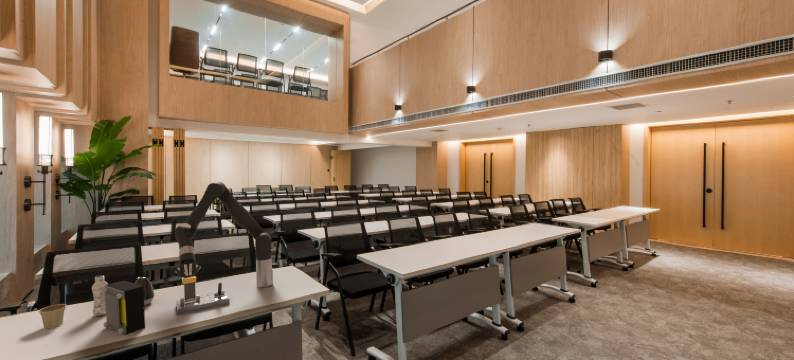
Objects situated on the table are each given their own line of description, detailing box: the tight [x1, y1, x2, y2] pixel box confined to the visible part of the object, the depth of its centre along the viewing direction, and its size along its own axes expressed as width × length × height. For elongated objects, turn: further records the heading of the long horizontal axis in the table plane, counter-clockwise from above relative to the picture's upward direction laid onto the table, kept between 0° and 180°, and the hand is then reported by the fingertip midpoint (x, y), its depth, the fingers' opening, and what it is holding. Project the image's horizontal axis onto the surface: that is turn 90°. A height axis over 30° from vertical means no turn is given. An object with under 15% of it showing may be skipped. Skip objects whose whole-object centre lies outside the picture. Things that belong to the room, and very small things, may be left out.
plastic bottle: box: [91, 275, 109, 317], centre depth 172 cm, size 6×7×20 cm
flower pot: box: [38, 303, 67, 329], centre depth 161 cm, size 9×9×9 cm
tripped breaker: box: [182, 275, 197, 302], centre depth 180 cm, size 6×3×13 cm, turn 125°
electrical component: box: [102, 280, 146, 336], centre depth 158 cm, size 18×10×20 cm, turn 62°
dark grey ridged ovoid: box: [134, 276, 155, 307], centre depth 185 cm, size 10×10×15 cm
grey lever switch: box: [175, 282, 231, 316], centre depth 184 cm, size 24×14×12 cm, turn 125°
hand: (189, 282), depth 183 cm, fingers closed
